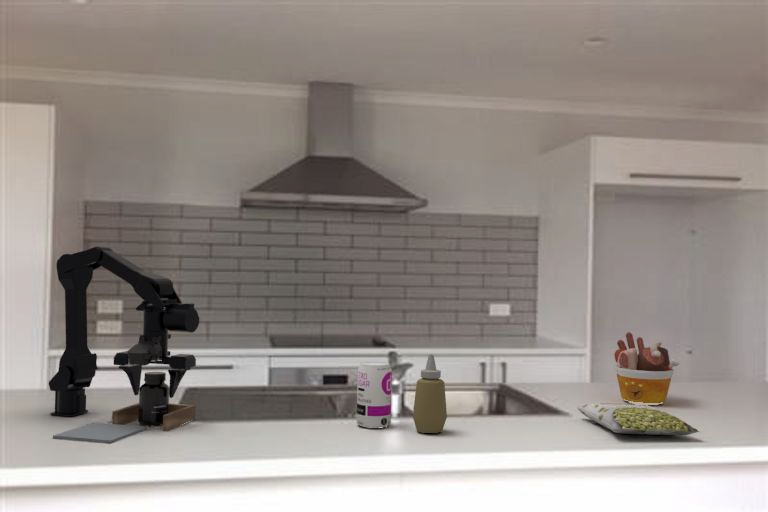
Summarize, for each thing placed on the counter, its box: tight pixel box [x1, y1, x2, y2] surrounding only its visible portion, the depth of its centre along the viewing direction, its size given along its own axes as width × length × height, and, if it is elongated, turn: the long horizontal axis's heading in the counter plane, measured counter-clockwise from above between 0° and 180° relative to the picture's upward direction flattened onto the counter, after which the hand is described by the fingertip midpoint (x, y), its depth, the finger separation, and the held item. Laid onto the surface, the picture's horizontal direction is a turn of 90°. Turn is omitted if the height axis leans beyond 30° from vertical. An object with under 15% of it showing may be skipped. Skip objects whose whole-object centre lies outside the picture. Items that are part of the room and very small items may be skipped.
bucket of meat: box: [613, 332, 680, 403], centre depth 218 cm, size 20×16×20 cm
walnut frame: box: [111, 402, 196, 432], centre depth 175 cm, size 14×13×4 cm
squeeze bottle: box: [412, 354, 448, 434], centre depth 172 cm, size 8×8×18 cm
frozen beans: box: [576, 403, 700, 436], centre depth 179 cm, size 21×6×25 cm
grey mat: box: [52, 421, 148, 444], centre depth 163 cm, size 14×14×1 cm
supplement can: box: [356, 361, 393, 428], centre depth 177 cm, size 8×8×15 cm
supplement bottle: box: [137, 371, 170, 427], centre depth 174 cm, size 7×7×12 cm
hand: (153, 396), depth 174 cm, fingers open, 9 cm apart
